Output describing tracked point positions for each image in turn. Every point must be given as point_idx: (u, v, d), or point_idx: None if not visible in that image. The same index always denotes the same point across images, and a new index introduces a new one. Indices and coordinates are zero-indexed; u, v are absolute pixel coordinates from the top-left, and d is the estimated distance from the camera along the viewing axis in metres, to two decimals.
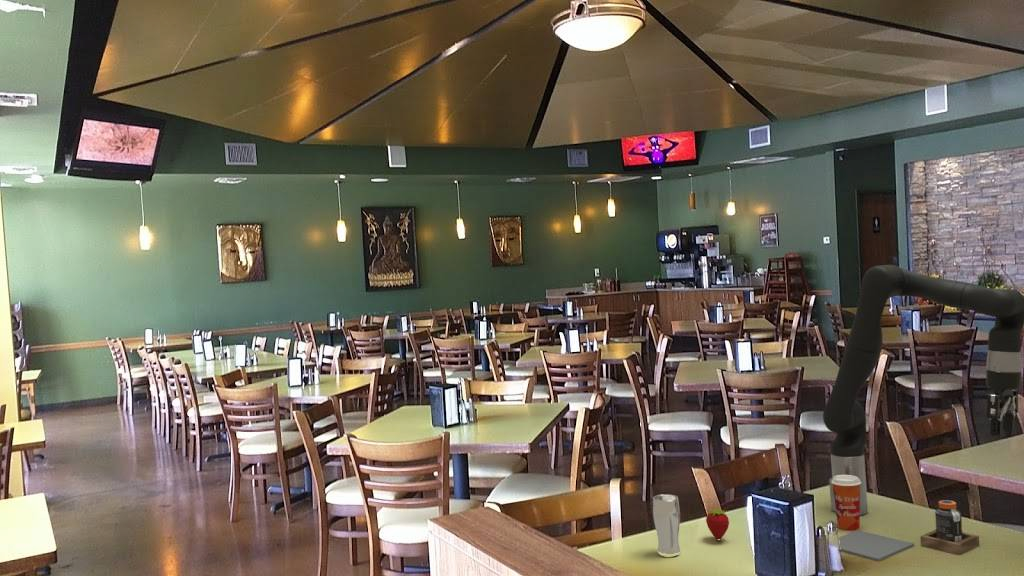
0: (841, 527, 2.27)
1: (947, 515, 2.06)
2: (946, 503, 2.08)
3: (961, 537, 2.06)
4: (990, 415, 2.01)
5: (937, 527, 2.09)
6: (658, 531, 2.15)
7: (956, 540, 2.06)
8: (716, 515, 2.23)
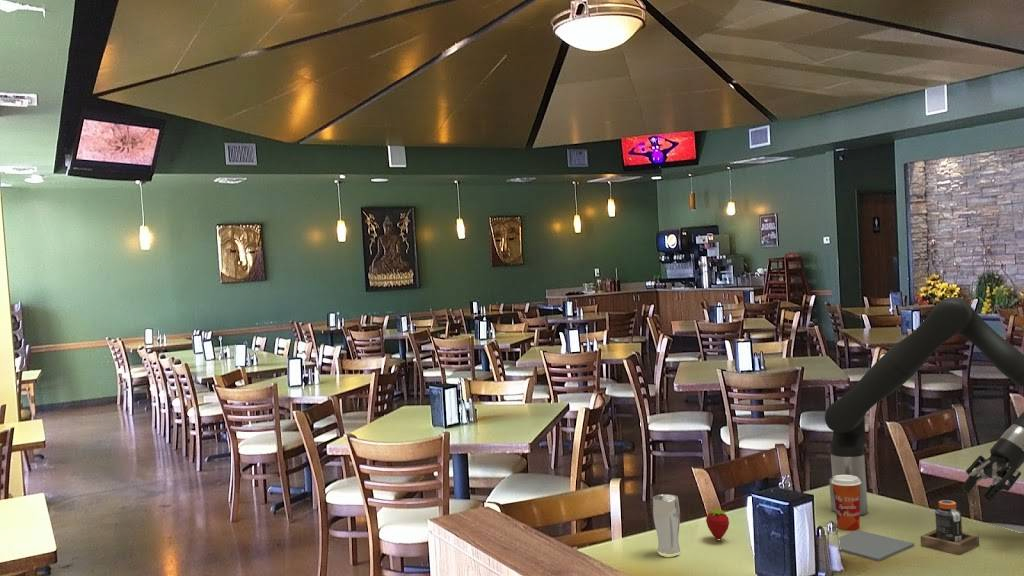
0: (841, 527, 2.27)
1: (947, 515, 2.06)
2: (946, 503, 2.08)
3: (961, 537, 2.06)
4: (1005, 484, 2.02)
5: (937, 527, 2.09)
6: (658, 531, 2.15)
7: (956, 540, 2.06)
8: (716, 515, 2.23)
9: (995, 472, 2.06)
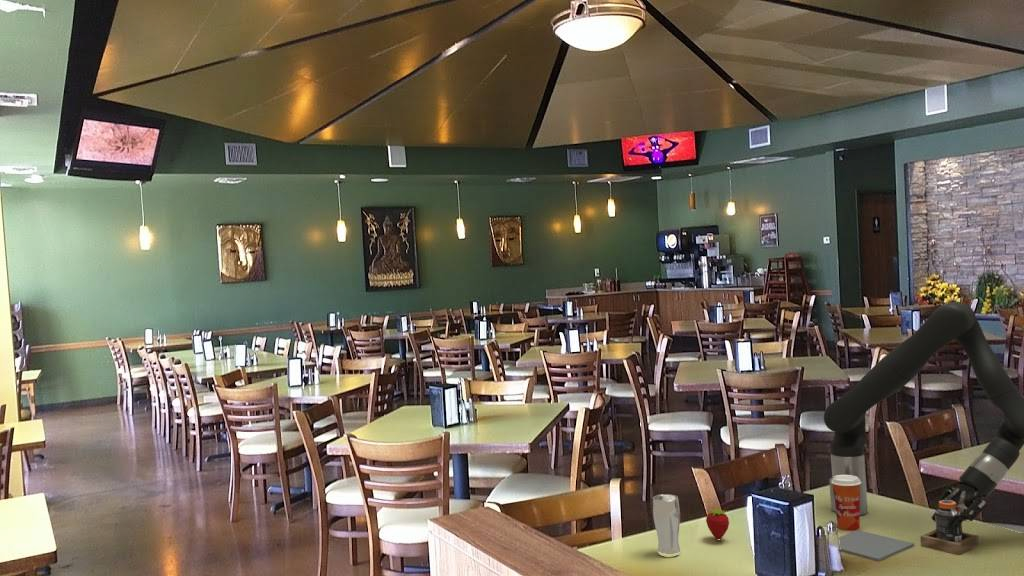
0: (841, 527, 2.27)
1: (947, 515, 2.06)
2: (946, 503, 2.08)
3: (961, 537, 2.06)
4: (968, 515, 2.03)
5: (937, 527, 2.09)
6: (658, 531, 2.15)
7: (956, 540, 2.06)
8: (716, 515, 2.23)
9: (961, 502, 2.06)
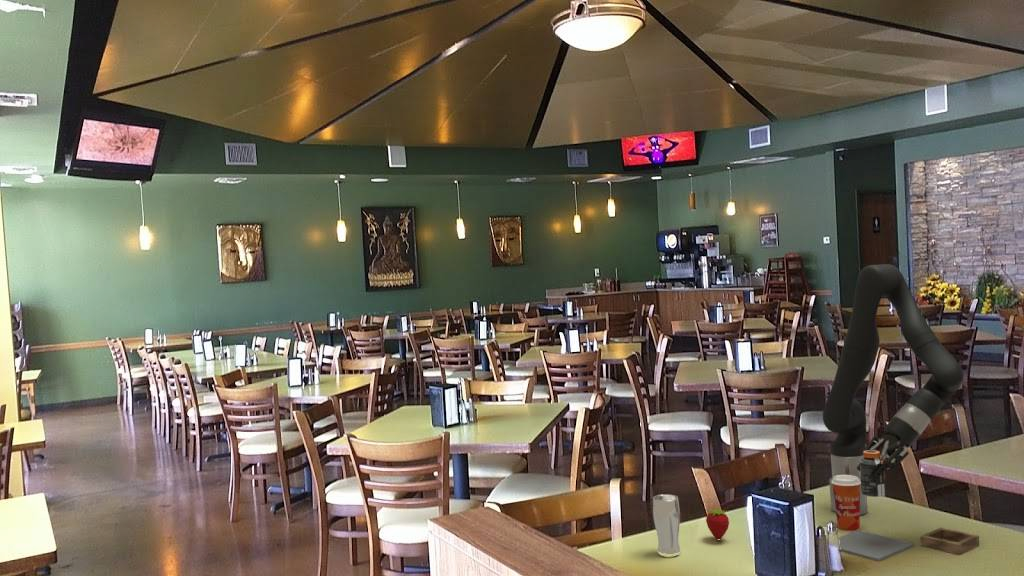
0: (841, 527, 2.27)
1: (870, 463, 2.10)
2: (870, 452, 2.11)
3: (884, 485, 2.10)
4: (890, 463, 2.06)
5: (861, 476, 2.12)
6: (658, 531, 2.15)
7: (879, 488, 2.09)
8: (716, 515, 2.23)
9: (884, 451, 2.09)
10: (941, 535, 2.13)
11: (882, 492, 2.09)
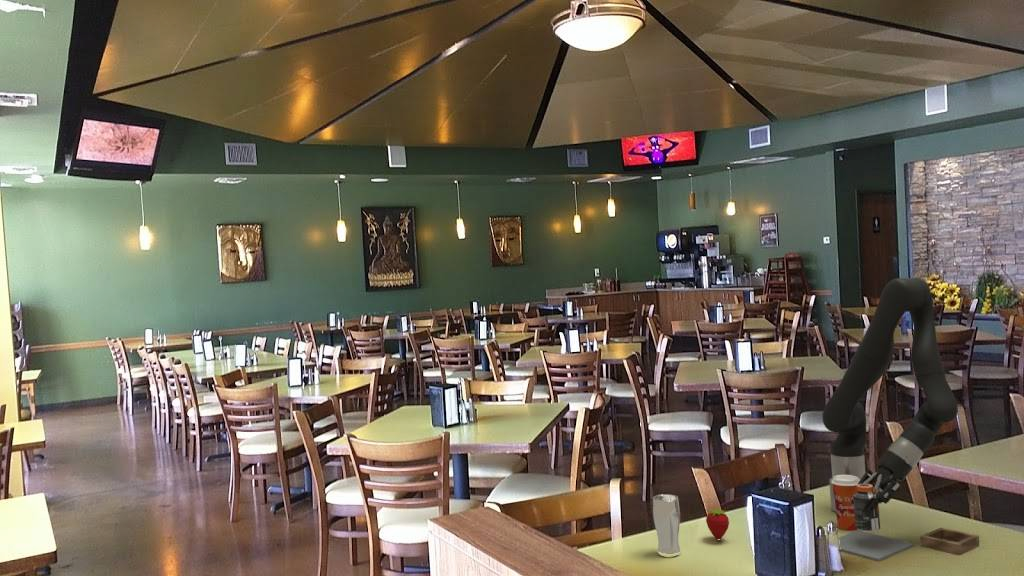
0: (841, 527, 2.27)
1: (863, 498, 2.10)
2: (863, 486, 2.11)
3: (878, 519, 2.10)
4: (883, 497, 2.06)
5: (855, 510, 2.12)
6: (658, 531, 2.15)
7: (872, 522, 2.09)
8: (716, 515, 2.23)
9: (877, 485, 2.10)
10: (941, 535, 2.13)
11: (876, 526, 2.09)
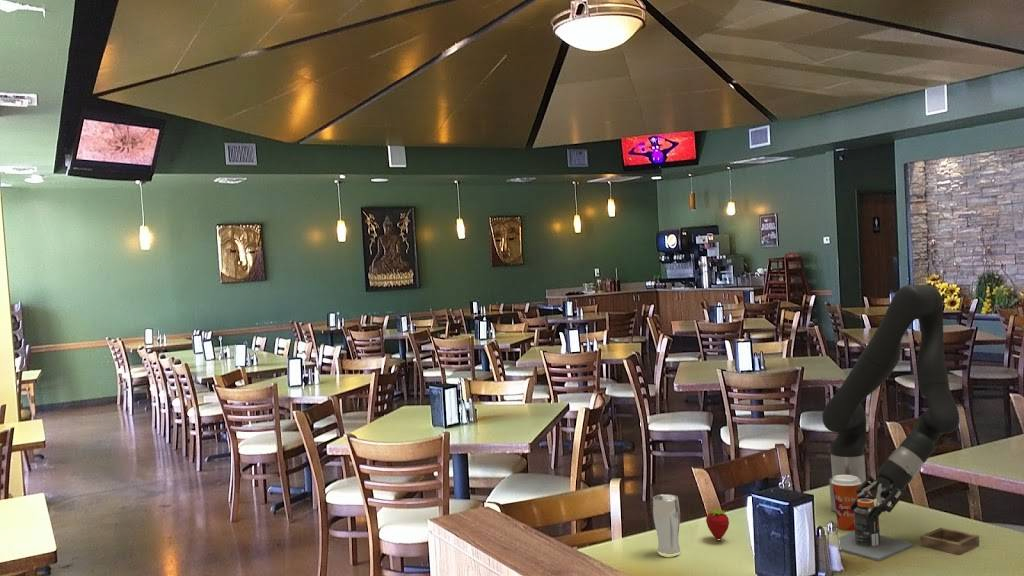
0: (841, 527, 2.27)
1: (864, 513, 2.10)
2: (864, 501, 2.11)
3: (878, 535, 2.10)
4: (886, 506, 2.05)
5: (855, 525, 2.13)
6: (658, 531, 2.15)
7: (873, 538, 2.10)
8: (716, 515, 2.23)
9: (879, 493, 2.09)
10: (941, 535, 2.13)
11: (876, 541, 2.10)
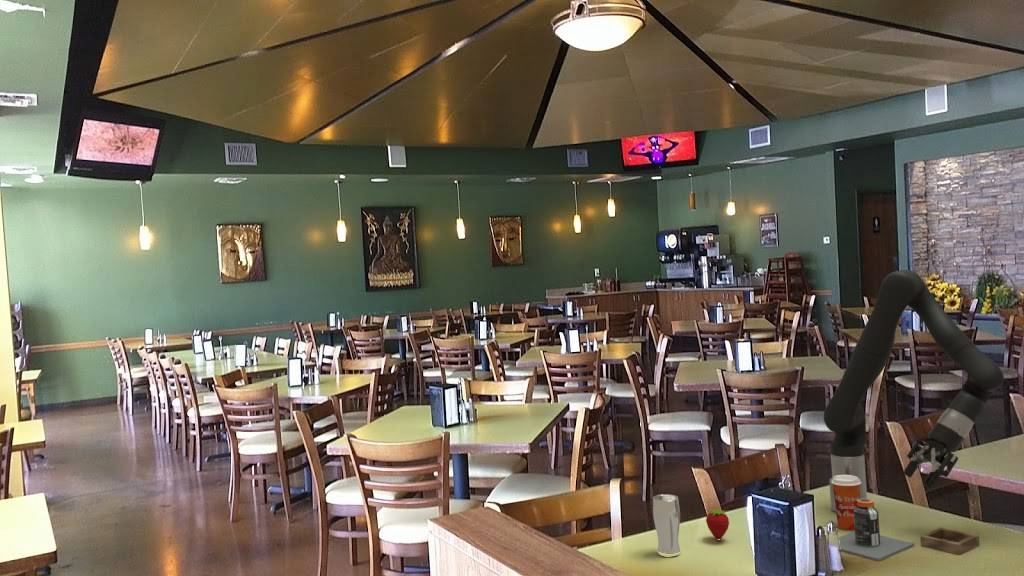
0: (841, 527, 2.27)
1: (864, 513, 2.10)
2: (864, 501, 2.12)
3: (878, 535, 2.10)
4: (943, 471, 2.08)
5: (855, 525, 2.13)
6: (658, 531, 2.15)
7: (873, 538, 2.10)
8: (716, 515, 2.23)
9: (934, 458, 2.11)
10: (941, 535, 2.13)
11: (876, 541, 2.10)
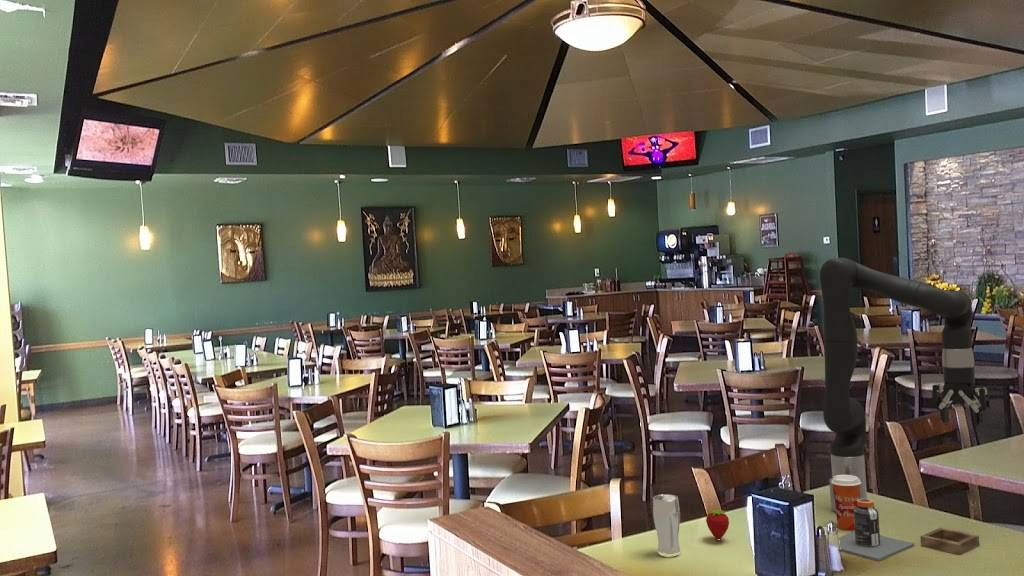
0: (841, 527, 2.27)
1: (864, 513, 2.10)
2: (864, 501, 2.11)
3: (878, 535, 2.10)
4: (986, 407, 2.15)
5: (855, 525, 2.13)
6: (658, 531, 2.15)
7: (873, 538, 2.10)
8: (716, 515, 2.23)
9: (969, 400, 2.18)
10: (941, 535, 2.13)
11: (876, 541, 2.10)
